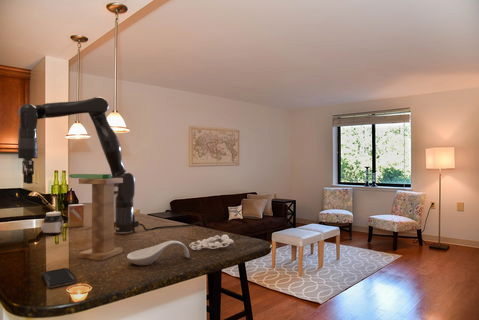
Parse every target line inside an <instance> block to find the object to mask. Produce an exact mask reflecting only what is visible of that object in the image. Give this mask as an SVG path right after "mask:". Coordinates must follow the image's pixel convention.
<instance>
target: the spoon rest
mask: <svg viewBox="0 0 479 320" xmlns="http://www.w3.org/2000/svg"><path fill="white" fill-rule="evenodd" d="M171 246H179V247H181V248H182V250H183V255H184V257H185V258H187V259H189V258H190V256H191V255H190V251H189V249H188V247H187V246H186V245H185V244H184V243H183V242H181V241H178V240H167V241H164V242H161V243H158V244H156V245H153V246H150V247H149V246H148V247H146V248H141V249H137V250H133V251H131V252H129V253H128V254H127V255H126V258H127V260H128V261H129V262H130V263H131V264H134V265H137V266H148V265H151V264H153V262H155V261H156V259H157V258H158V257H159V256H160V255H162V253H163V252H164V251H165V250H166V249H168V248H169V247H171Z"/></svg>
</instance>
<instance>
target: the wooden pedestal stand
mask: <svg viewBox="0 0 479 320" xmlns="http://www.w3.org/2000/svg"><path fill="white" fill-rule="evenodd" d="M115 183H123V178H111V179H94V178H78V184H79V185H91V248H89V249H85V250H83V251H80V252H78V258H79V259H80V258H81V259H87V260H96V261H104V260H108V259H109V258H112V257H115V256H117V255H119V254H122V253H123V251H124V250H123V248H124V247H120V246H119V247H118V246H115V223H114V184H115Z"/></svg>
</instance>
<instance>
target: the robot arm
mask: <svg viewBox="0 0 479 320" xmlns="http://www.w3.org/2000/svg"><path fill="white" fill-rule="evenodd" d="M109 105H110V104H109V101H108V100H106V99H105V98H104V97H101V96H94V97H91V98H88V99H83V100H75V101H59V102H57V101H56V102H46V103H42V104H35V105H33V104H31V103H25V104H23V105H21V106H20V107H19V108H18V110H17V116H18V117H19V126H18V140H17V158H18V159H23V160H22V162H21V166H22V167H21V173H22V175H23V184H27V185H32V184H33V176H34V174H35V171H34V170H35V168H34V165H35V163H34V162H35V160H33V159H38V157H39V156H38V155H39V154H38V148H39V147H38V130H37V129H38V128H37V126H38V121H39V120H43V119H52V118H62V117H68V116H74V115H80V114H88V115H89V117H90V119H91V121H92V124H93V126H94V129H95V132H96V134H97V137H98V140H99V143H100V147H101V149H102V152H103V154H104V156H105V159H106V161H107V164H108V167H109V169H110V174H111V176H112V177H113V178H123V183H115V186H116V187H118V194H117V196H116V223H115V226H114V234H117V235H127V234H128V235H129V234H133V233H135V232H136V231H135V230H136V228H139V226H141V227H142V228H143V229H144V231H153V230H157V229H166V228H184V227H192V226H196V225H200V226H203V223H202V222H198V221H197V222H195V223H189V224H179V225H177V224H175V225H162V226H154V227H152V228H146V226H145V225H144V224H143V223H140V222H139V220H136V219H135V218H136V215H135V214H134V198H135V193H136V192H135V191H136V179H135V176H134V175H133V174H132V173H131V172H127V171H126V169H125V167H124V163H123V157H122V156H123V154H122V146H121V144H120V140H119V138H118V135H117V134H116V132H115V131H114V129H113V128H112V126H111V125H110V123H109V121H108V119H107V115H106V113H107V112H108V110H109Z"/></svg>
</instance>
